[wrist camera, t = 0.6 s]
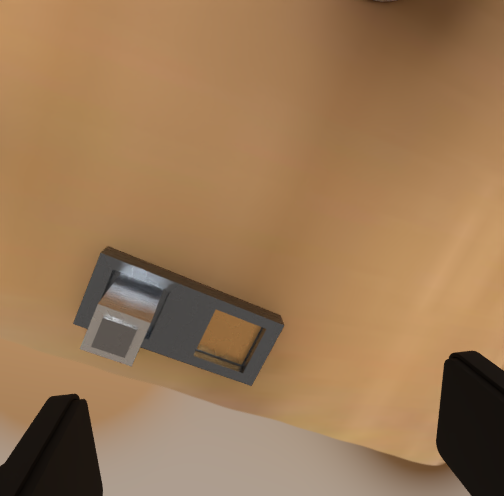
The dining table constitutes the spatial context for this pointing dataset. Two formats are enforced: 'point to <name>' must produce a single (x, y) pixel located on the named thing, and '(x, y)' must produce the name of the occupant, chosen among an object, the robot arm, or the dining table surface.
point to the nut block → (122, 320)
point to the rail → (191, 319)
